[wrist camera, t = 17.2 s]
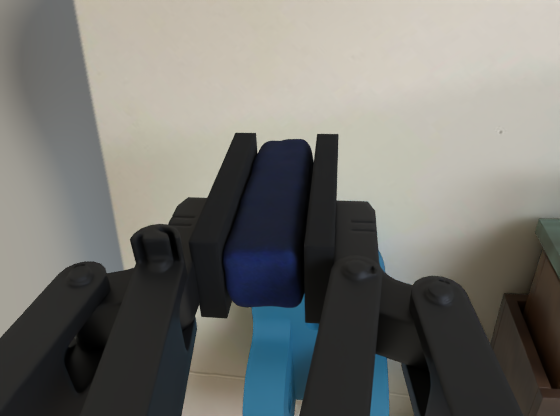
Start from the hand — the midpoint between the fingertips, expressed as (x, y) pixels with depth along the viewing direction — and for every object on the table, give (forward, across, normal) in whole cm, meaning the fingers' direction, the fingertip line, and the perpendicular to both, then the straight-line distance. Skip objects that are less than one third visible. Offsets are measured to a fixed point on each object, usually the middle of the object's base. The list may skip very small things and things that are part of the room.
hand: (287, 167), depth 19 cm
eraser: (+1, 0, 0) cm, 1 cm away
